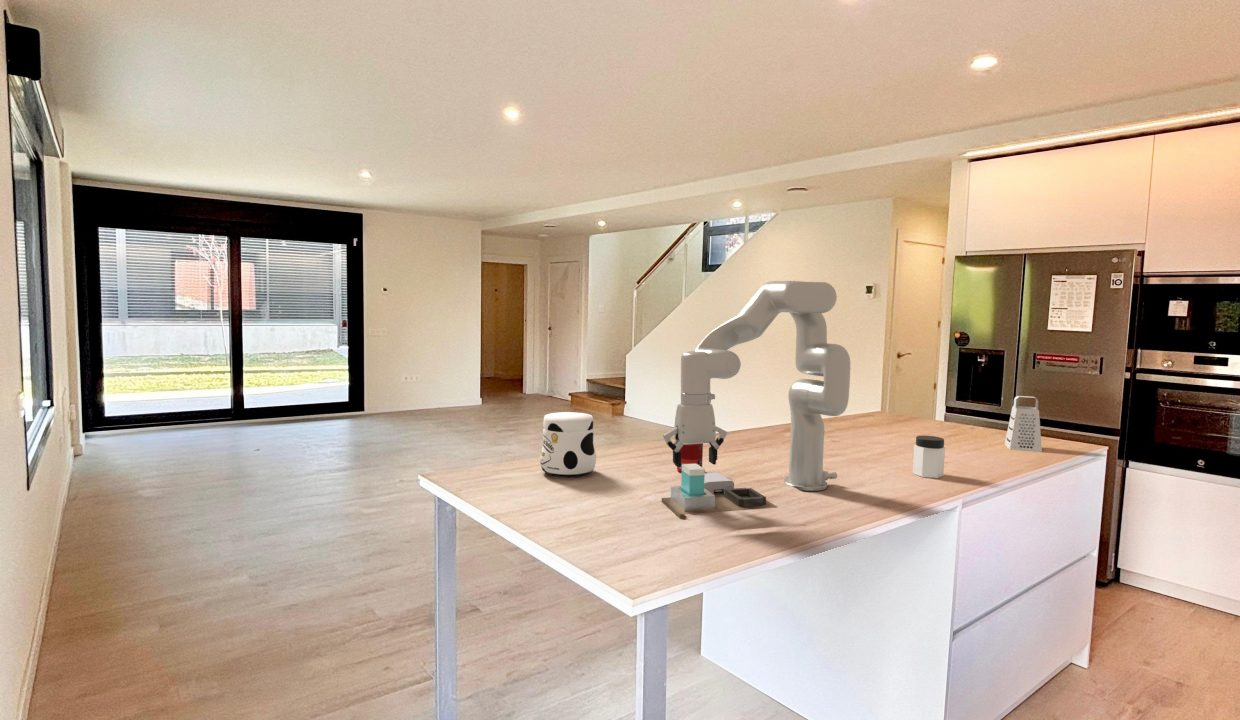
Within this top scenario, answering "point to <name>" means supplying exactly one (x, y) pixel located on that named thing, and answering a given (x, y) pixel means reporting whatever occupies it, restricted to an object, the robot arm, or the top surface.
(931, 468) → the jar
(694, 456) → the canned food
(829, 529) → the top surface
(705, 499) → the frame
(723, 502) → the brown socket board
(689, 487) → the plug
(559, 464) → the milk container
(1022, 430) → the grater
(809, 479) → the robot arm
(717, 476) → the charger
